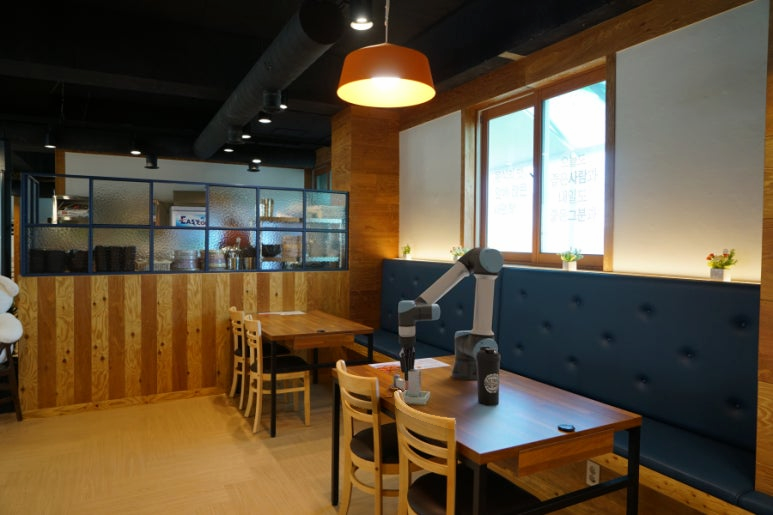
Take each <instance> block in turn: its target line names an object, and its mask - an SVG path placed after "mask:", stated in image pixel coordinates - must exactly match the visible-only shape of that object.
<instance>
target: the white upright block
mask: <svg viewBox="0 0 773 515" xmlns="http://www.w3.org/2000/svg"><path fill="white" fill-rule="evenodd" d="M421 391H422V369H415V368H414V369H410V370H409V371H408V397H412V398H421Z"/></svg>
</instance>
